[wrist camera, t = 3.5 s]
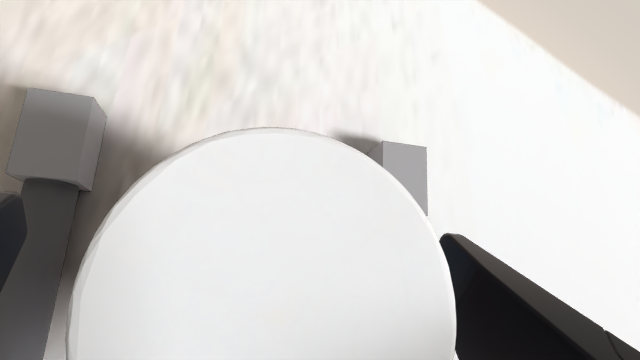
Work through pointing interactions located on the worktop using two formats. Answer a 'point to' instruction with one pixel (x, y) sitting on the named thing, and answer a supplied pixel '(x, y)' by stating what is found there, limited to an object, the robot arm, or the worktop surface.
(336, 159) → the pill bottle
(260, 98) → the worktop surface
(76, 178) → the grey block-headed part
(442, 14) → the worktop surface
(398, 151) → the grey block-tipped rod
